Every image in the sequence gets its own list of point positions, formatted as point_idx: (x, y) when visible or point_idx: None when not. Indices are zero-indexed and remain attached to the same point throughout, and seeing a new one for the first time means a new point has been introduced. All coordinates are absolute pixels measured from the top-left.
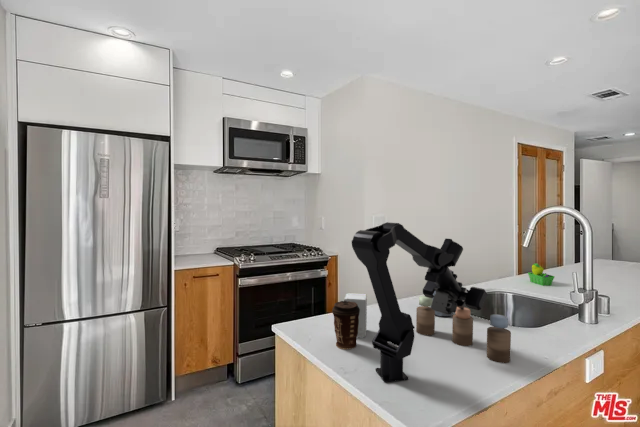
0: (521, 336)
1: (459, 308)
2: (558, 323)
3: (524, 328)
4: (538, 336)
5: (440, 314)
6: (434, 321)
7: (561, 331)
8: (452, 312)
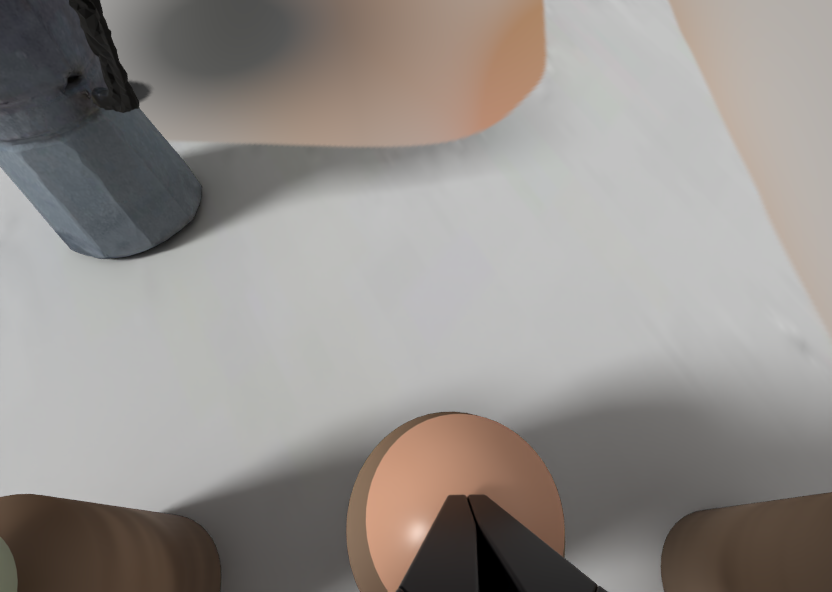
0: (565, 197)
1: (419, 526)
2: (549, 21)
3: (514, 119)
4: (599, 153)
5: (140, 245)
6: (170, 569)
7: (604, 68)
8: (194, 183)
